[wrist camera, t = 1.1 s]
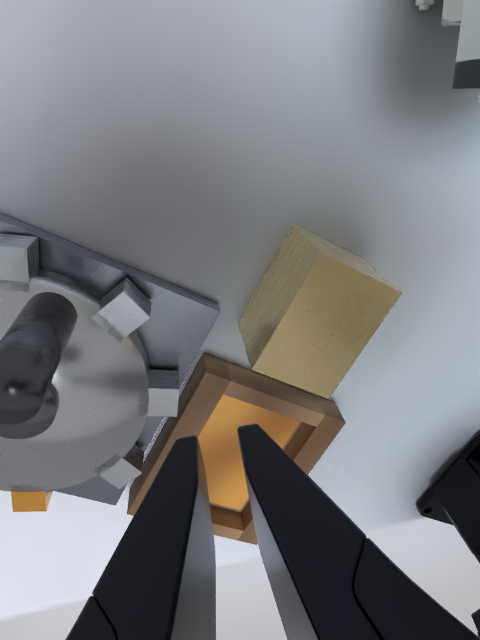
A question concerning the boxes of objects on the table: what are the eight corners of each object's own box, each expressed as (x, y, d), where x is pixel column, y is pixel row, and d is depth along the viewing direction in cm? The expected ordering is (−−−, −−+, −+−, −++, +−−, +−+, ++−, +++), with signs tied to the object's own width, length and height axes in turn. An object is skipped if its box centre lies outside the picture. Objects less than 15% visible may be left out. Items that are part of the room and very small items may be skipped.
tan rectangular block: (360, 257, 20) (401, 292, 16) (302, 348, 21) (328, 398, 18) (293, 222, 19) (322, 252, 15) (237, 321, 20) (251, 369, 17)
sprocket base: (218, 303, 20) (219, 311, 19) (117, 493, 24) (115, 505, 23) (-87, 176, 16) (-99, 180, 15) (-144, 427, 20) (-156, 439, 19)
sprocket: (222, 312, 19) (243, 408, 13) (115, 509, 23) (96, 646, 17) (-104, 178, 15) (-274, 229, 9) (-161, 443, 19) (-302, 591, 13)
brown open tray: (334, 402, 23) (345, 422, 21) (252, 520, 26) (256, 544, 25) (203, 353, 21) (205, 372, 19) (129, 489, 24) (126, 514, 22)
